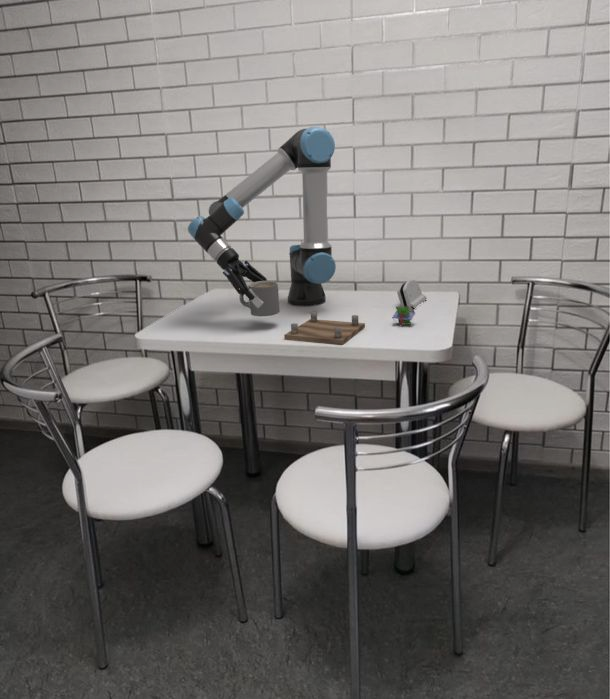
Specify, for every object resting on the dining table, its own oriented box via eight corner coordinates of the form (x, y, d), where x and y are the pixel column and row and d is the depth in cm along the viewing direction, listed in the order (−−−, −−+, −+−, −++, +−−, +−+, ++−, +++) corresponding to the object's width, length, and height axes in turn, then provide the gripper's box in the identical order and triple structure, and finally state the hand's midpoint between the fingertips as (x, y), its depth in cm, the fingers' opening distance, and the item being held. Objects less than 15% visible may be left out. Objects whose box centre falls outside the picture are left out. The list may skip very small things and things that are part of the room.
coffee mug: (283, 309, 211) (281, 280, 208) (273, 316, 202) (270, 287, 199) (248, 307, 215) (246, 280, 212) (236, 315, 206) (234, 286, 203)
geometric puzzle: (407, 323, 197) (413, 301, 199) (388, 321, 200) (393, 299, 202) (413, 331, 203) (418, 309, 205) (394, 329, 206) (399, 307, 208)
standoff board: (310, 323, 210) (310, 310, 209) (364, 327, 202) (364, 314, 201) (284, 339, 193) (283, 325, 192) (342, 344, 185) (342, 330, 184)
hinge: (414, 309, 222) (406, 284, 220) (403, 313, 224) (394, 287, 223) (427, 299, 236) (419, 275, 234) (416, 303, 238) (408, 279, 237)
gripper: (234, 256, 219) (276, 301, 217) (200, 268, 200) (245, 317, 199) (246, 242, 215) (288, 287, 213) (211, 252, 197) (258, 302, 195)
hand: (268, 302), depth 206 cm, fingers closed on coffee mug, 9 cm apart
